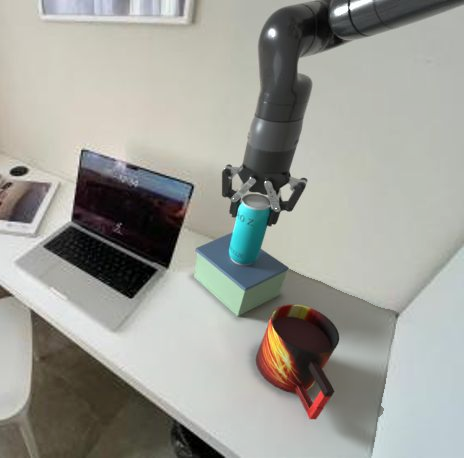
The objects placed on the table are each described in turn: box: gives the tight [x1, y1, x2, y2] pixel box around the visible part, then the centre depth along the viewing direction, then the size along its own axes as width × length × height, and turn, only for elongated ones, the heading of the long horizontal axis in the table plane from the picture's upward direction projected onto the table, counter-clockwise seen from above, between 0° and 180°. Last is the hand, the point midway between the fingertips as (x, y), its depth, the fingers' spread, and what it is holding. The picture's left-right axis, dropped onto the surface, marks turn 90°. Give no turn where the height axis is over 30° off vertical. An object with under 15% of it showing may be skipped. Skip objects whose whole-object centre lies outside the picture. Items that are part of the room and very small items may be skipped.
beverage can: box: [229, 193, 273, 266], centre depth 72 cm, size 6×6×15 cm
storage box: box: [193, 252, 288, 317], centre depth 80 cm, size 14×12×8 cm
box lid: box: [195, 231, 289, 291], centre depth 78 cm, size 14×12×1 cm
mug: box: [255, 303, 340, 420], centre depth 61 cm, size 10×14×12 cm
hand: (251, 219), depth 71 cm, fingers open, 6 cm apart
